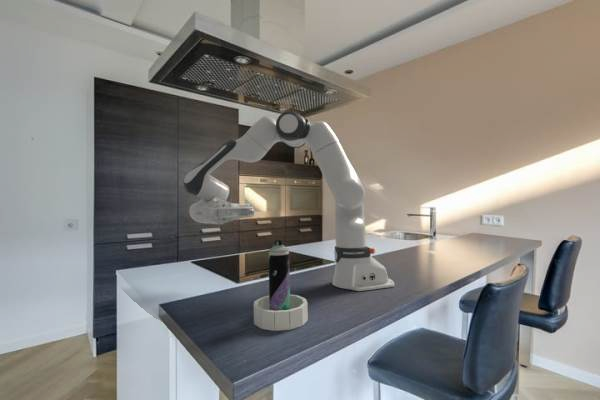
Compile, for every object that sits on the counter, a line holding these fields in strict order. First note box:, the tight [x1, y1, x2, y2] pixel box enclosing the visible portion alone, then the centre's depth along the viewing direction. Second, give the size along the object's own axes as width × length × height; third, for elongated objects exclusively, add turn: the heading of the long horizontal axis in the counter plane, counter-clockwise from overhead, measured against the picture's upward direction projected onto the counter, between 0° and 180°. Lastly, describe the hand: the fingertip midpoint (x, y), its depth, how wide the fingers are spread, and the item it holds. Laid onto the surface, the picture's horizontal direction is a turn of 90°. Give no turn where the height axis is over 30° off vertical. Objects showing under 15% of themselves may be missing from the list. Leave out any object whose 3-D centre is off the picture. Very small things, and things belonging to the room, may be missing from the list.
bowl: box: [253, 293, 309, 332], centre depth 79 cm, size 14×14×4 cm
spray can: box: [268, 239, 291, 311], centre depth 79 cm, size 6×6×20 cm
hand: (241, 212), depth 101 cm, fingers open, 8 cm apart
